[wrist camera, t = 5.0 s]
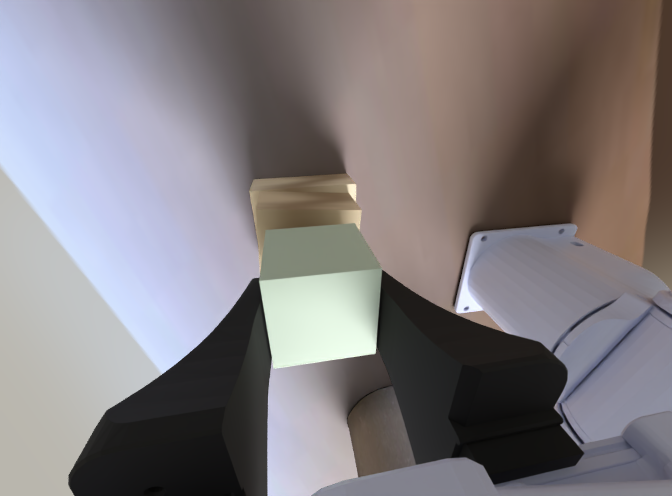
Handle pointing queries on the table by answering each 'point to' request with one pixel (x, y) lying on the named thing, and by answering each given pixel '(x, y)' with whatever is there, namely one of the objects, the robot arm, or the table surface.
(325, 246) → the sage cube
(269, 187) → the base slab
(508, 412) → the robot arm
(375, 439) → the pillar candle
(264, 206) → the beige square block
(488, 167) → the table surface
